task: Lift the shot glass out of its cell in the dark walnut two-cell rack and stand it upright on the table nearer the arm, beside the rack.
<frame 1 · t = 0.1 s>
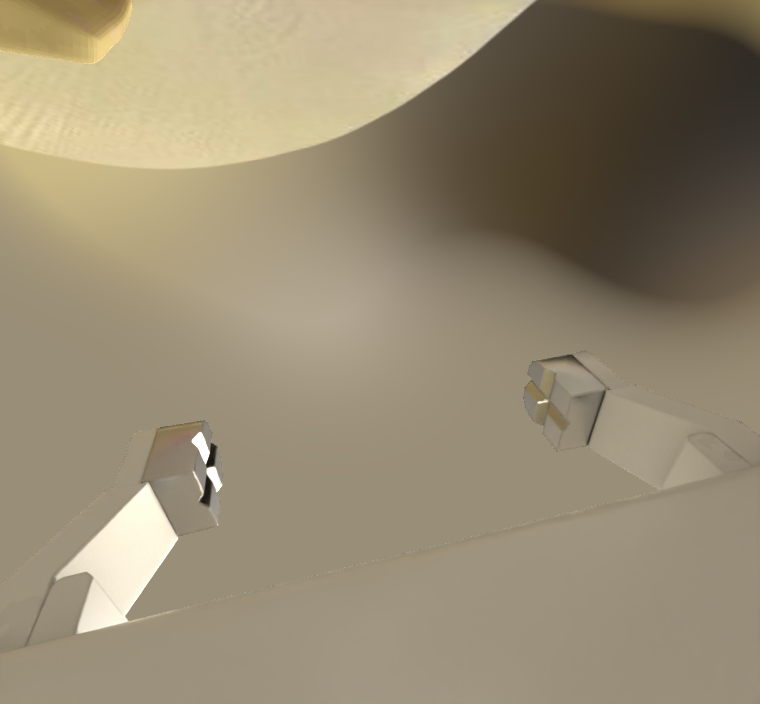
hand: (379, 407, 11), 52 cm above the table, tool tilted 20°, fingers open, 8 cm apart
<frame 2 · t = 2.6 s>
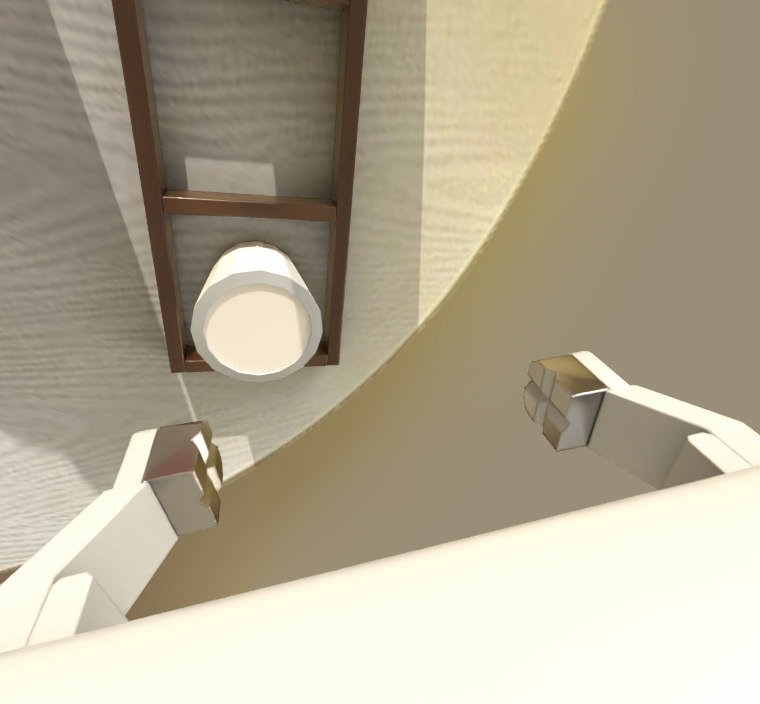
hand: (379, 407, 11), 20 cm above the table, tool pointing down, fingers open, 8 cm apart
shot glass: (256, 281, 29), resting in holder
holder: (253, 202, 26), on the table
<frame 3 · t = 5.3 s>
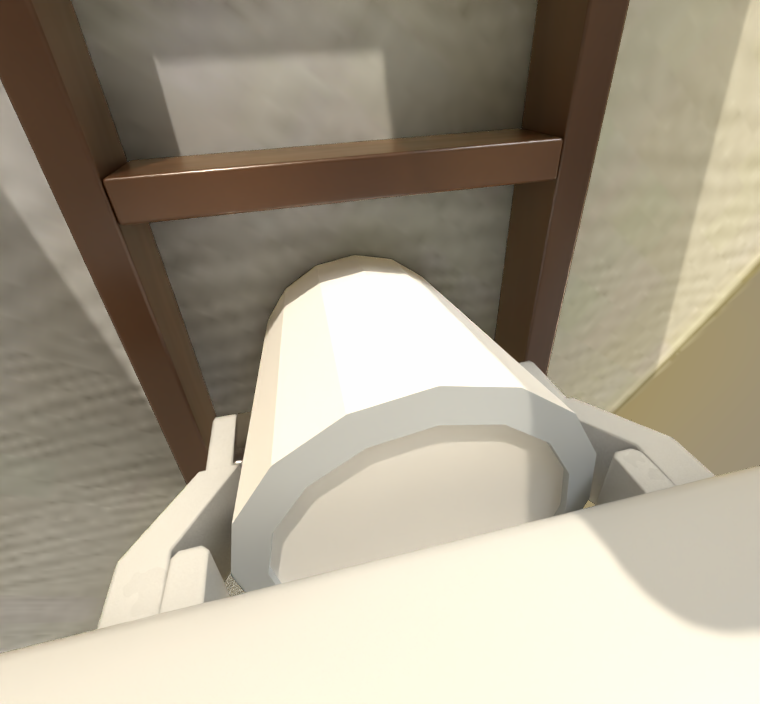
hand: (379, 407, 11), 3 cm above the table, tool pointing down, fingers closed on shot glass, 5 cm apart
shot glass: (356, 337, 14), resting in holder, touching gripper
holder: (340, 162, 10), on the table
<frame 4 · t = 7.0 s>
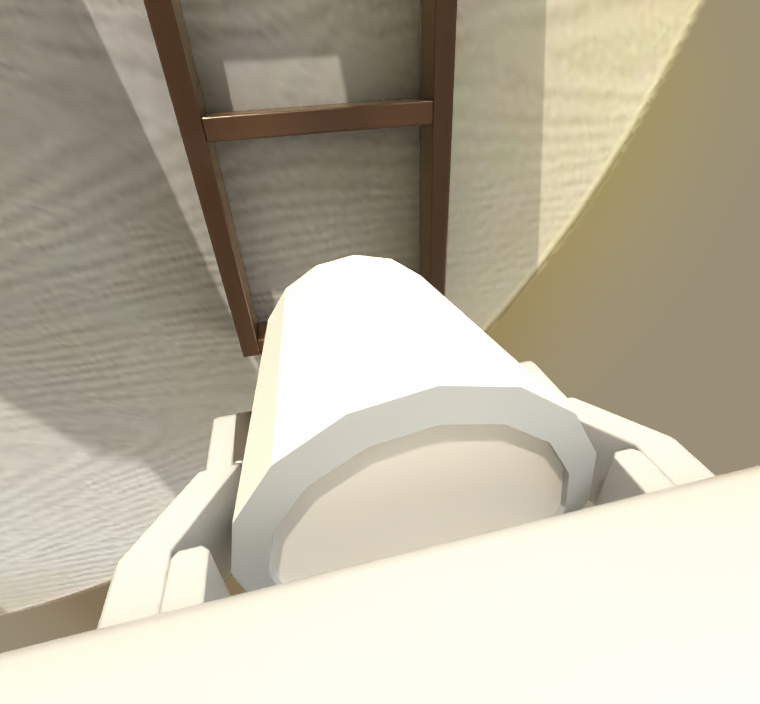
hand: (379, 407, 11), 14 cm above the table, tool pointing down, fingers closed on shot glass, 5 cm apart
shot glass: (356, 337, 14), point 10 cm above the table, touching gripper
holder: (318, 116, 19), on the table
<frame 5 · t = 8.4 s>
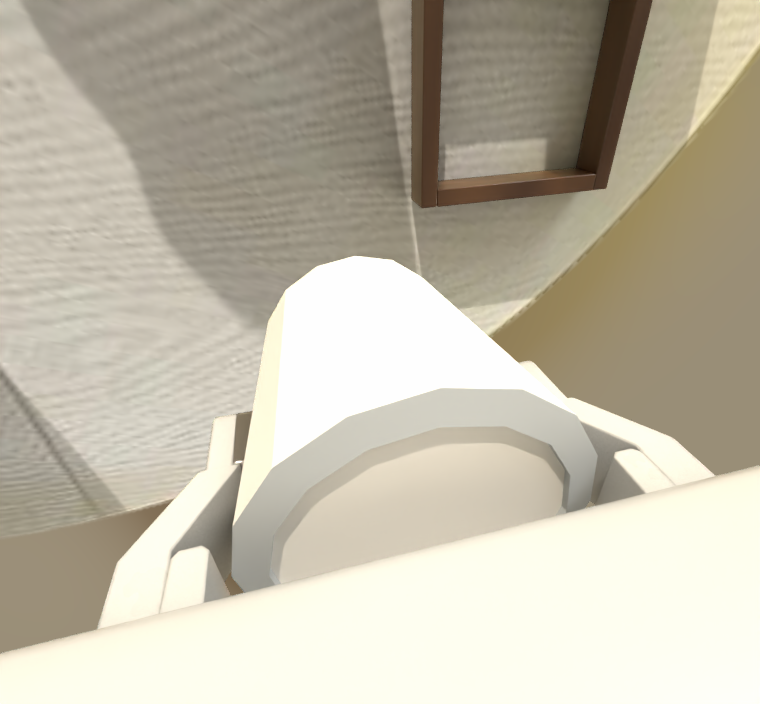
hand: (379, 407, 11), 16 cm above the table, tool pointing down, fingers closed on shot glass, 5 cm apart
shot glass: (356, 338, 14), point 13 cm above the table, touching gripper
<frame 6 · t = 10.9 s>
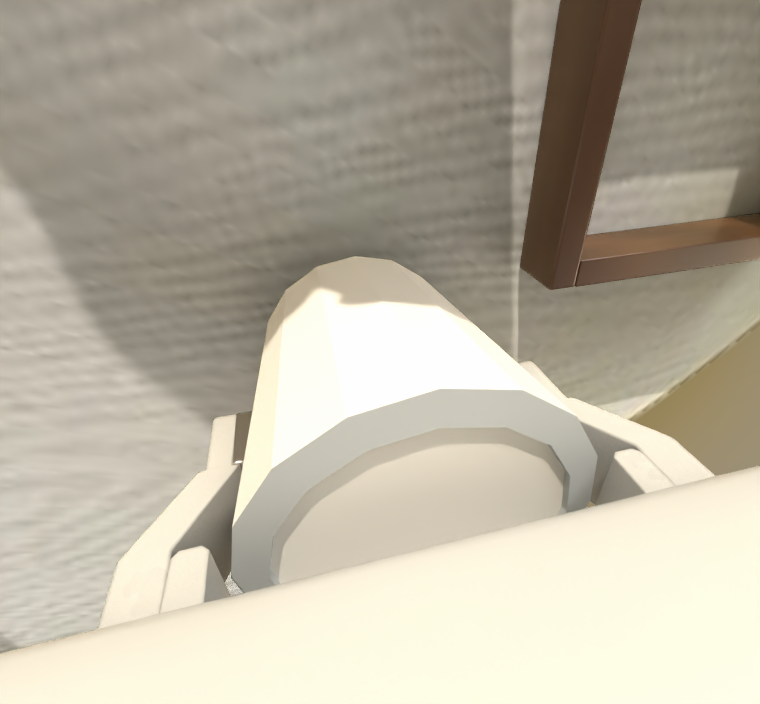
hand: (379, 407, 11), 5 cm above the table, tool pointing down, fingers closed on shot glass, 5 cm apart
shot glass: (356, 338, 14), point 1 cm above the table, touching gripper
when the fingers open (3 cm above the table, at t = 11.9 s): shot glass stays where it is, on the table.
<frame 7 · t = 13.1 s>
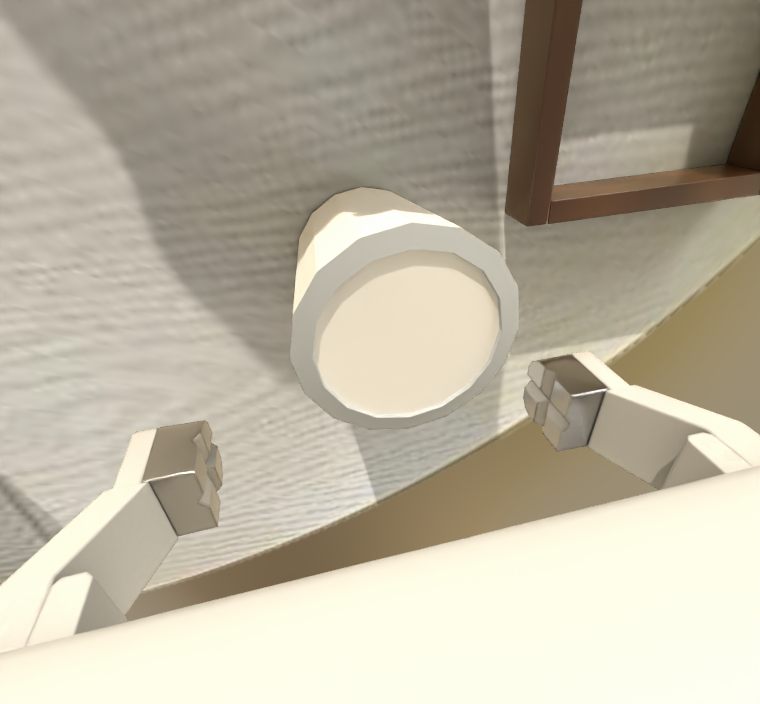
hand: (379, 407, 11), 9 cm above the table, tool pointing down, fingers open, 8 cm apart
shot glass: (364, 255, 18), on the table
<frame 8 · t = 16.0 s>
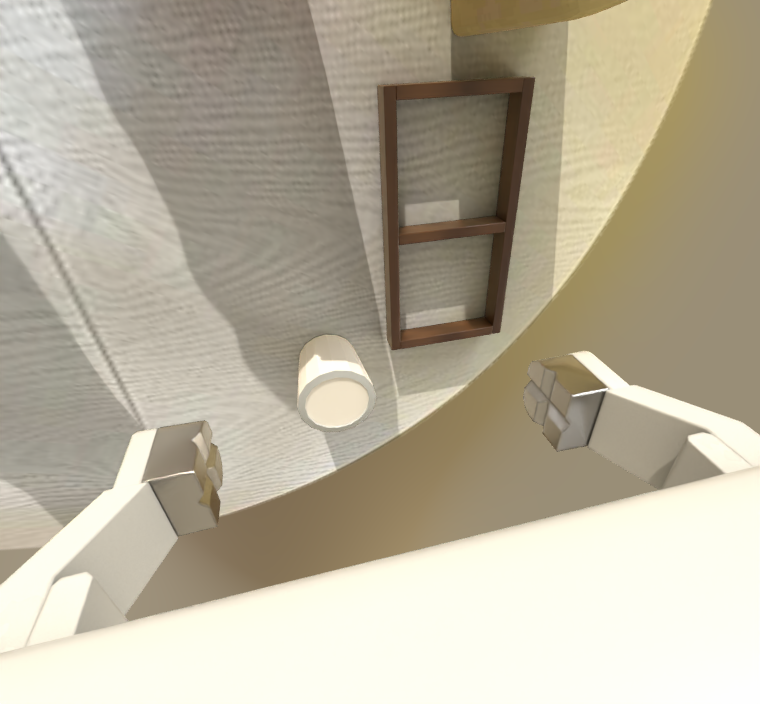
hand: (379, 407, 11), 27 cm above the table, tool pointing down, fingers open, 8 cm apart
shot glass: (327, 357, 42), on the table
holder: (445, 226, 37), on the table
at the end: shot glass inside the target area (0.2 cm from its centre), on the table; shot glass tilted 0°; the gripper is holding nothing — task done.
